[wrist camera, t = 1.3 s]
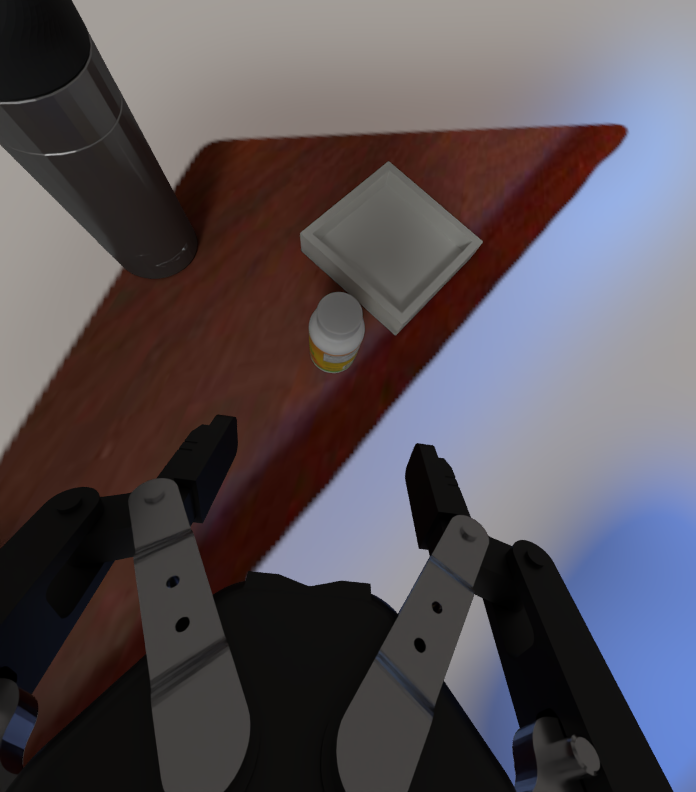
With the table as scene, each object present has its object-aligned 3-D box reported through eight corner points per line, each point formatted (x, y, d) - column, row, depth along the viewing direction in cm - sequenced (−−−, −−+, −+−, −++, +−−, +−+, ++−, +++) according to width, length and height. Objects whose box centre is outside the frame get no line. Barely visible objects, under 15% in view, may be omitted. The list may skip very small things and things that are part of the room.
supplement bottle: (310, 329, 35) (309, 281, 25) (355, 331, 35) (370, 286, 26) (309, 373, 33) (307, 340, 24) (355, 374, 34) (371, 343, 25)
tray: (301, 250, 37) (300, 232, 34) (383, 182, 40) (388, 161, 37) (395, 335, 36) (402, 324, 33) (470, 257, 39) (483, 241, 36)
